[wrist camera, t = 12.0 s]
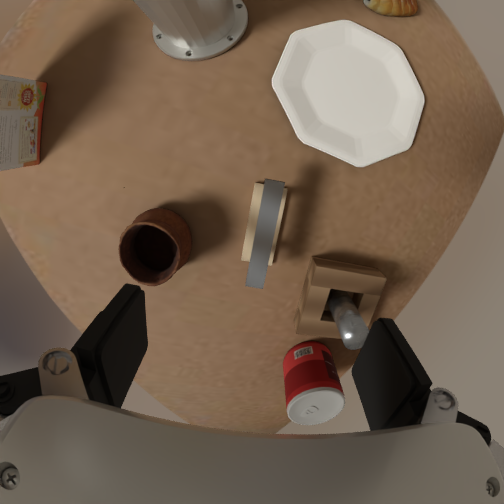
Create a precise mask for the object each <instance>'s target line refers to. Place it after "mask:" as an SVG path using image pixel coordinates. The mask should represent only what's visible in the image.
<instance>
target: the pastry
mask: <svg viewBox="0 0 504 504" xmlns="http://www.w3.org/2000/svg"><path fill="white" fill-rule="evenodd" d="M363 1H364V4H365V5H366V6H367V7H368V8H370V9H371V10H373V11H374V12H376V13H378V14H380V15H386V16H411V15H413V14H415V13H416V12H417V10H418V6H417V1H416V0H363Z"/></svg>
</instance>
